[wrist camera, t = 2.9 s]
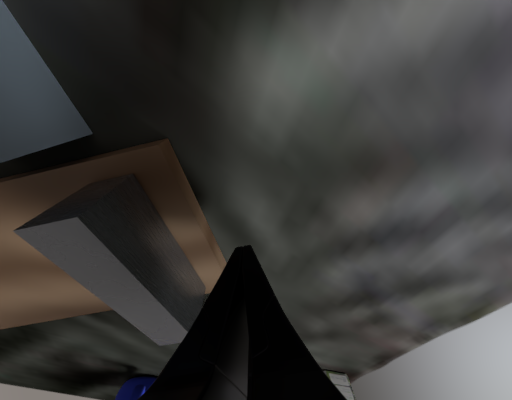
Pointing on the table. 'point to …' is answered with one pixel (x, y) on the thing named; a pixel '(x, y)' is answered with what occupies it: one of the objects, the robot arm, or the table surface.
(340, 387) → the syrup box
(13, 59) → the blue-grey rectangular block
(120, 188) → the grey rectangular block
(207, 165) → the table surface
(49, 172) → the shelf
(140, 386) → the mug
